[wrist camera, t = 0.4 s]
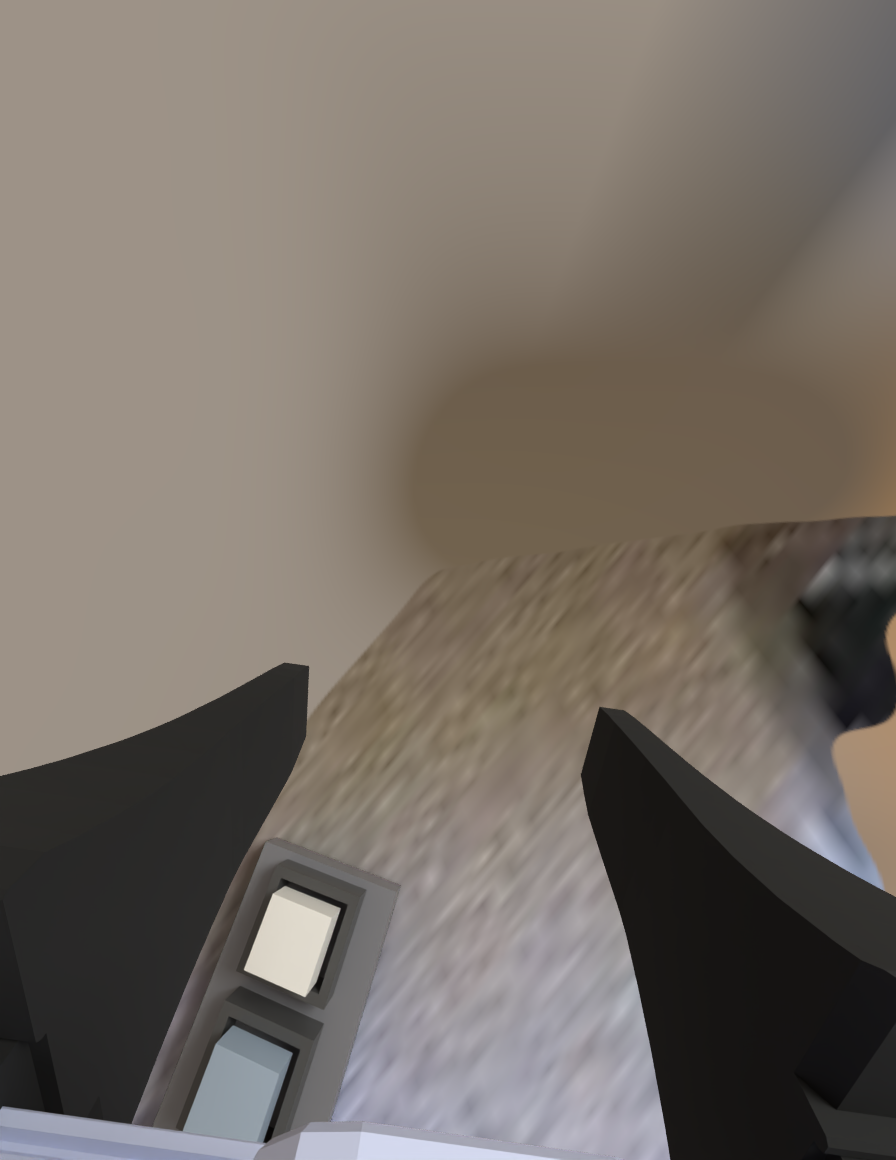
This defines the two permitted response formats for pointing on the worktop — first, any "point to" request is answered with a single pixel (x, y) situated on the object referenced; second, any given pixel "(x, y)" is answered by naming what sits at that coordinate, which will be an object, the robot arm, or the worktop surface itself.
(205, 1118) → the slate blue key
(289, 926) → the off-white key
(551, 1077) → the worktop surface
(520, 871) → the worktop surface
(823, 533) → the worktop surface
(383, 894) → the key panel
